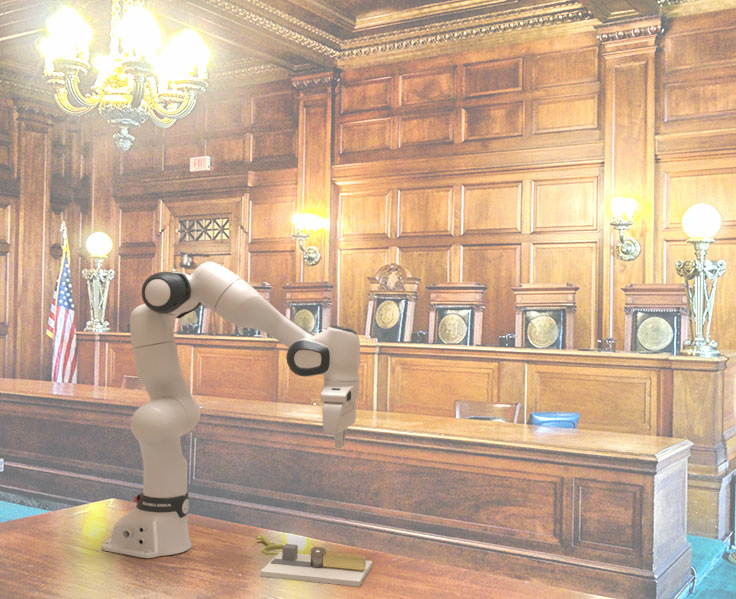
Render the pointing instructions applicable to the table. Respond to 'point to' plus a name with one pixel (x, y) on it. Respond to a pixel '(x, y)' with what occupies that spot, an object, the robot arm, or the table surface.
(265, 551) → the key
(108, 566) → the table surface
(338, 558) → the swing arm
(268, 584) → the table surface
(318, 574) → the lock plate
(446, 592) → the table surface
